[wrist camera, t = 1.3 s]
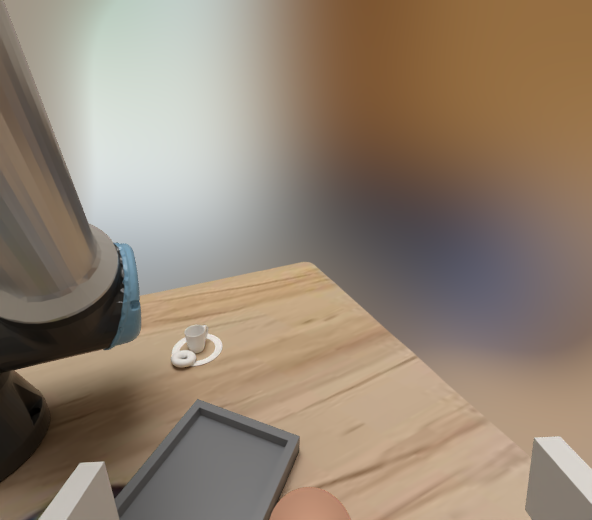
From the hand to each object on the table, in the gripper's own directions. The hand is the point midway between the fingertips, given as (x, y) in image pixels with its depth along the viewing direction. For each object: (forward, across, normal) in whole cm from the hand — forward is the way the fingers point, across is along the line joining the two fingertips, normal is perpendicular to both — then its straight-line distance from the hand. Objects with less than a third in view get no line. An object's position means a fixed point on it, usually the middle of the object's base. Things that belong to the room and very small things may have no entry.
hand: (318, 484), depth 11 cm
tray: (+21, -12, -23) cm, 33 cm away
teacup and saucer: (+42, -21, -18) cm, 51 cm away
